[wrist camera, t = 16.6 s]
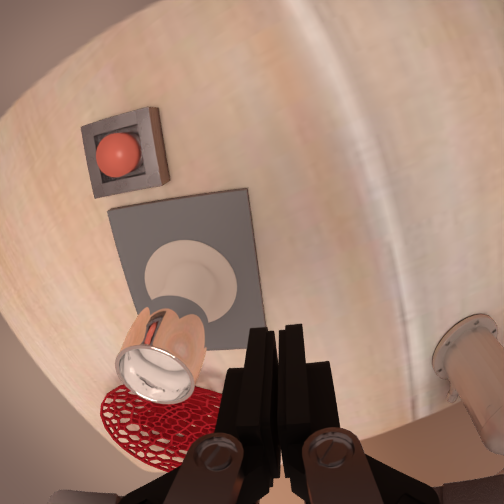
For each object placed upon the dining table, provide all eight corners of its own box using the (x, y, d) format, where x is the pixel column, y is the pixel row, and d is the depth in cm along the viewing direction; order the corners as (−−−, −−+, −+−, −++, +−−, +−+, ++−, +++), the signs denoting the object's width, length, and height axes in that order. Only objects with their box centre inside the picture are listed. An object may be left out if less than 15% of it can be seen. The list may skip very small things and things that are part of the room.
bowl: (89, 408, 50) (80, 426, 45) (157, 324, 40) (146, 348, 36) (211, 472, 56) (209, 490, 52) (313, 417, 47) (316, 441, 42)
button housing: (170, 180, 33) (161, 185, 30) (107, 192, 33) (94, 198, 31) (158, 107, 30) (148, 106, 27) (94, 125, 30) (80, 126, 28)
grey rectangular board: (268, 342, 40) (267, 347, 39) (153, 347, 42) (151, 352, 41) (247, 187, 33) (246, 190, 32) (110, 208, 34) (106, 211, 33)
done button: (148, 168, 31) (138, 172, 28) (113, 175, 32) (100, 181, 29) (141, 127, 30) (130, 128, 27) (106, 137, 30) (92, 139, 27)
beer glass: (173, 313, 38) (133, 405, 24) (155, 263, 35) (98, 345, 21) (227, 306, 37) (208, 405, 23) (213, 253, 34) (180, 340, 21)
